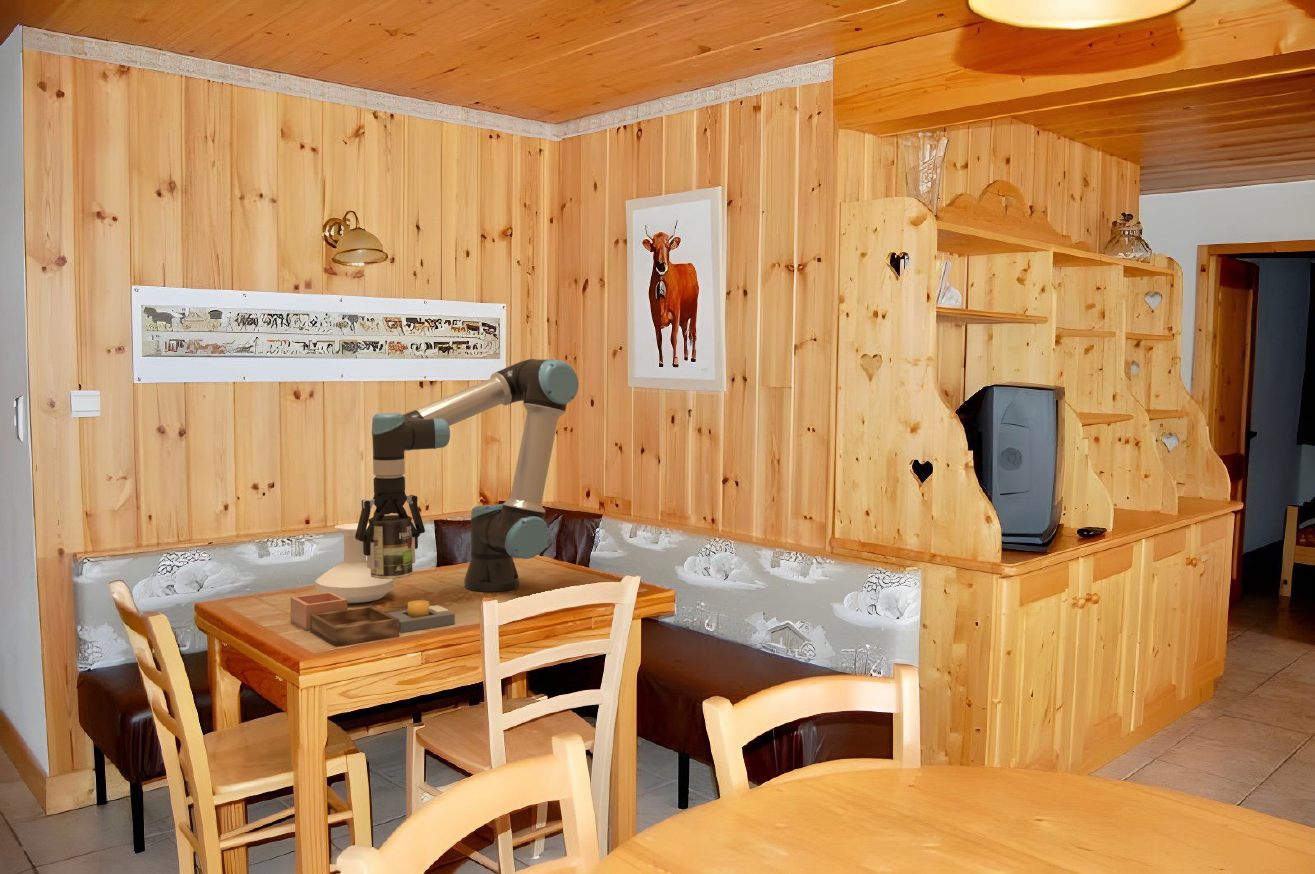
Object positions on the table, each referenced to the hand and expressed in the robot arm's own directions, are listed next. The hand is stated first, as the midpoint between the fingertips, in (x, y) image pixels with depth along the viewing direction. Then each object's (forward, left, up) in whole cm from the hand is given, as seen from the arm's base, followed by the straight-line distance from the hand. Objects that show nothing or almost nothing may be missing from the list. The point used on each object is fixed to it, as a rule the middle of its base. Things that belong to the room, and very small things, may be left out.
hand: (391, 565), depth 259 cm
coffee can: (0, 0, -3) cm, 3 cm away
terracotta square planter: (+18, -2, -12) cm, 22 cm away
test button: (-1, +12, -11) cm, 16 cm away
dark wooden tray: (+15, +12, -12) cm, 23 cm away
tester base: (-1, +12, -12) cm, 17 cm away
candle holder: (+1, -21, -13) cm, 25 cm away
